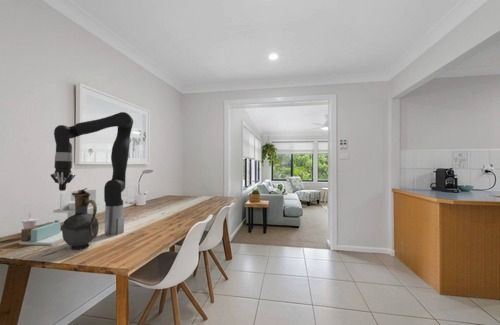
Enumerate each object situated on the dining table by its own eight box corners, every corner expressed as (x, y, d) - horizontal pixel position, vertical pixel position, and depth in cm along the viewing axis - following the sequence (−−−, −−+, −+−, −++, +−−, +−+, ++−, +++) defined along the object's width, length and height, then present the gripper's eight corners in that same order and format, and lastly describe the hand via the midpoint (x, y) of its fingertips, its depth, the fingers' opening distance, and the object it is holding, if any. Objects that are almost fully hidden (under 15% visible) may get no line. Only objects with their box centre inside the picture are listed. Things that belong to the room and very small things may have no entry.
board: (82, 233, 130) (82, 231, 130) (51, 245, 110) (51, 242, 110) (55, 232, 130) (55, 230, 130) (19, 244, 110) (19, 242, 110)
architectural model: (81, 230, 137) (82, 193, 137) (45, 230, 134) (47, 193, 135) (106, 219, 164) (107, 189, 165) (77, 219, 162) (78, 189, 163)
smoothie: (18, 239, 118) (20, 213, 118) (24, 235, 123) (25, 211, 124) (34, 237, 121) (35, 212, 121) (39, 234, 126) (40, 210, 127)
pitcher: (82, 241, 115) (84, 186, 116) (105, 247, 108) (107, 188, 109) (58, 248, 105) (60, 188, 106) (81, 255, 98) (84, 190, 99)
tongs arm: (56, 231, 128) (56, 220, 128) (63, 231, 128) (64, 220, 128) (27, 241, 110) (28, 228, 111) (36, 241, 111) (37, 228, 111)
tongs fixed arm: (48, 232, 125) (49, 222, 126) (53, 232, 125) (54, 222, 126) (21, 241, 110) (21, 229, 111) (26, 241, 110) (27, 229, 111)
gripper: (80, 160, 126) (79, 190, 125) (58, 160, 126) (57, 189, 125) (69, 160, 118) (68, 191, 118) (45, 160, 118) (44, 191, 118)
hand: (62, 190), depth 121 cm, fingers closed
